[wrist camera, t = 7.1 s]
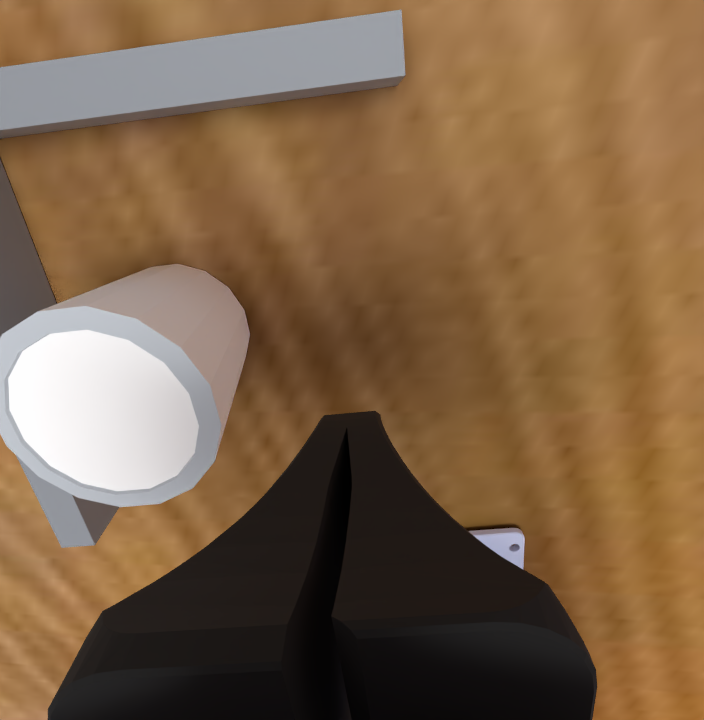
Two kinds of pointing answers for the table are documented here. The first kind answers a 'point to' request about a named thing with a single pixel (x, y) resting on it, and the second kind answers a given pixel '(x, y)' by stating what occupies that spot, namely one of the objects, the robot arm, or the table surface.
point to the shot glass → (125, 385)
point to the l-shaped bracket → (160, 99)
